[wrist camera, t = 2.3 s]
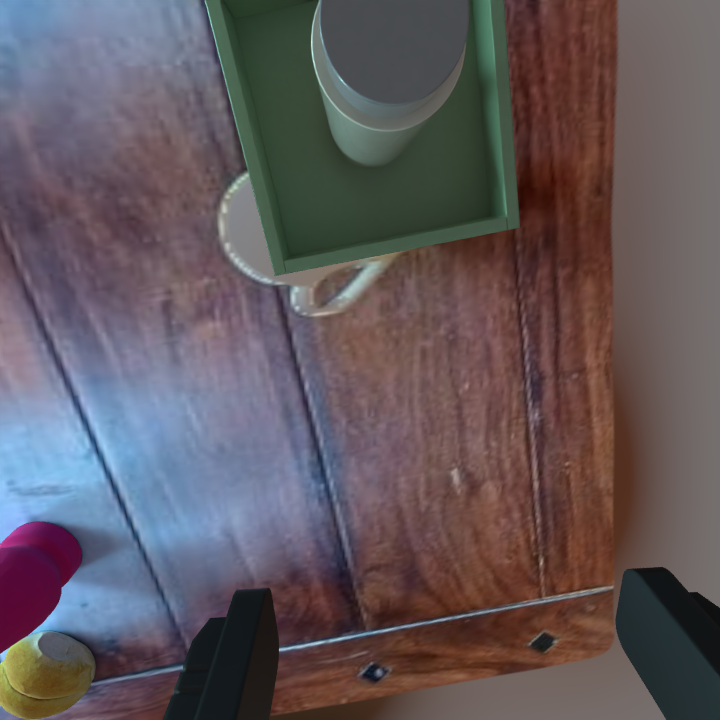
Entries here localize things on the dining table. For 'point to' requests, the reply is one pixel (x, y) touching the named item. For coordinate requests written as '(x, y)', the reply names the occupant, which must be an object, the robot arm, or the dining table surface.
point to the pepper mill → (33, 577)
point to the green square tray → (339, 176)
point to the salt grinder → (385, 70)
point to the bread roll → (45, 675)
